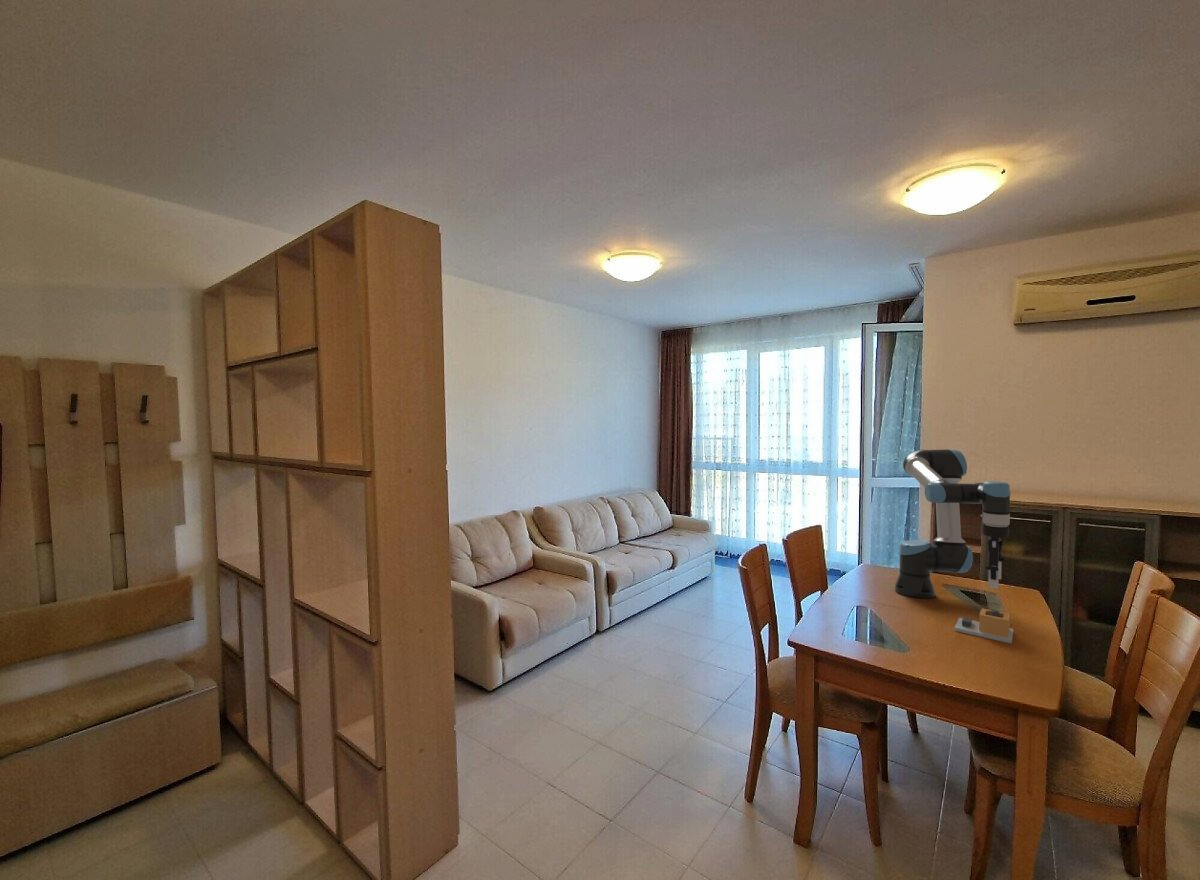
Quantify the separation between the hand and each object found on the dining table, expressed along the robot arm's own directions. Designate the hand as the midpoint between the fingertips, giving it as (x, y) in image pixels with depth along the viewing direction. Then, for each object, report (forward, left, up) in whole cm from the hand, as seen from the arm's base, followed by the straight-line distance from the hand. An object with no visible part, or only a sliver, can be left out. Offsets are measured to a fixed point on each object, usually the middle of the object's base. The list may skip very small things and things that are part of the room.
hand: (994, 583), depth 175 cm
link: (0, 0, -17) cm, 17 cm away
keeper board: (0, -3, -19) cm, 19 cm away
